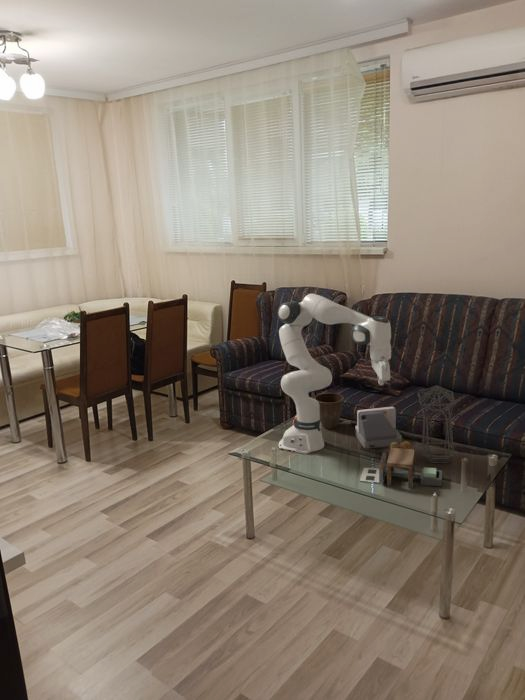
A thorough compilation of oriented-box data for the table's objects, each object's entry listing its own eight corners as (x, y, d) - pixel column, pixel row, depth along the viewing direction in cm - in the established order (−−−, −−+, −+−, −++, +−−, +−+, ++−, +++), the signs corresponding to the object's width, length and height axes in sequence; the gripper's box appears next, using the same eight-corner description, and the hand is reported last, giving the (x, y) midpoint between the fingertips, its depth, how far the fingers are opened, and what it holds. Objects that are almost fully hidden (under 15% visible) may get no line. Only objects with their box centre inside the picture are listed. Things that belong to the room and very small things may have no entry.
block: (423, 483, 233) (423, 472, 231) (423, 478, 237) (423, 467, 236) (435, 484, 231) (436, 473, 230) (436, 479, 236) (436, 468, 234)
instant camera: (396, 430, 286) (396, 402, 282) (404, 448, 266) (404, 418, 262) (354, 431, 288) (353, 404, 284) (358, 449, 268) (358, 420, 264)
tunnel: (387, 485, 233) (386, 462, 230) (390, 469, 246) (390, 447, 243) (412, 488, 230) (412, 464, 227) (414, 471, 243) (414, 449, 240)
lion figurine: (396, 463, 251) (396, 445, 249) (386, 460, 255) (386, 442, 253) (416, 453, 260) (416, 435, 258) (406, 449, 264) (406, 431, 262)
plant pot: (330, 418, 306) (329, 390, 302) (350, 426, 295) (349, 397, 290) (310, 426, 298) (308, 397, 294) (329, 434, 286) (328, 404, 282)
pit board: (359, 481, 238) (359, 480, 237) (363, 468, 249) (363, 467, 248) (378, 483, 235) (378, 482, 235) (382, 470, 246) (382, 468, 246)
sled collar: (379, 484, 234) (379, 467, 232) (383, 468, 247) (382, 452, 245) (441, 489, 226) (441, 472, 224) (441, 473, 239) (442, 457, 237)
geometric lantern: (457, 467, 244) (457, 391, 235) (420, 467, 247) (418, 392, 238) (453, 451, 259) (453, 379, 249) (418, 450, 262) (416, 380, 253)
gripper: (393, 360, 233) (393, 391, 237) (382, 347, 253) (382, 376, 257) (378, 361, 233) (379, 392, 237) (368, 348, 253) (368, 377, 256)
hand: (380, 384), depth 247 cm, fingers closed
